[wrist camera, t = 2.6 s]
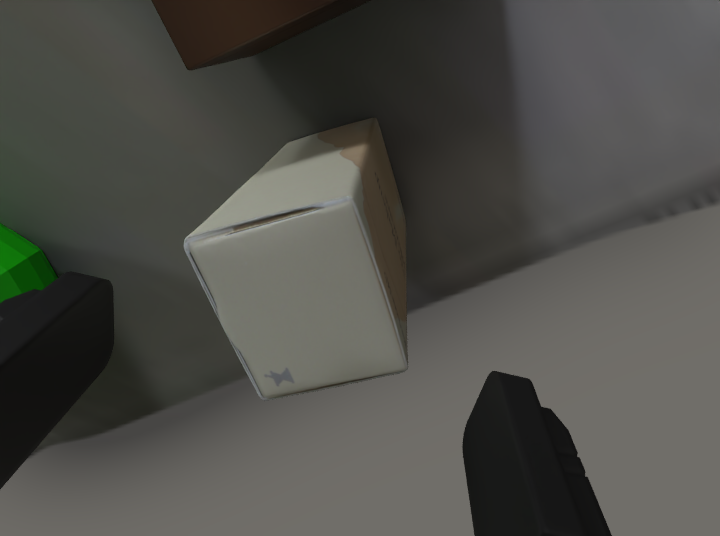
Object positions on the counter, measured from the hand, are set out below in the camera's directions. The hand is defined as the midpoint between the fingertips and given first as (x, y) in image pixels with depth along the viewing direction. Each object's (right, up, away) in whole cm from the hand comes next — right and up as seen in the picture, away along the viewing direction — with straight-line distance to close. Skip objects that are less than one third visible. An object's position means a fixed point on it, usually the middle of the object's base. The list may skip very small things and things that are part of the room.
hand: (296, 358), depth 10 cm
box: (+1, +6, +11) cm, 13 cm away
